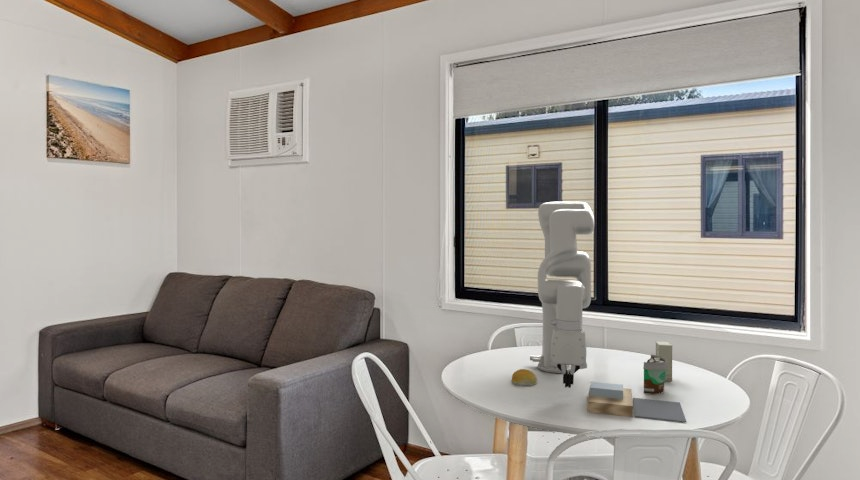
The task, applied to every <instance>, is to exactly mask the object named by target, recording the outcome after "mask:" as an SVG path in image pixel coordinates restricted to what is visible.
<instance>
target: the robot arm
mask: <svg viewBox="0 0 860 480" xmlns="http://www.w3.org/2000/svg"><path fill="white" fill-rule="evenodd" d="M537 211H538V212H537V213H538V214H537V217H538V221H539V222H538V223H539V225H540V228H541V230H542V234H543V237H544V259H542V261H541V263H540V264H539V267H538V270H537V294H538V299H539V301H540V302H541V307H542V309H541V310H542V352H541V354H538V355H534V354H531V355H529V361H532V362H534V363H536V362H537V363H538V364H537V368H538V369H539V370H541V371H542V372H543V371H544V372H546V373H551V374H552V373H554V374H562V385H563V384H564V388H569V389H571V388H572V385H574V381H575V379H574V375H575V373H576V372H578V371H579V370H584V369H587V368H588V363H587V339H586V333H585V332H586V331H585V330H584V329H583V309H587V308H589V306H590V304H591V302H592V301H591V300H592V269H591V268H592V267H591V266H592V265H591V259H590V256H589V254H588V253H587V252H584V251H579V250H578V242H577V235H581V236H582V235H585V236H586V235H588V236H589V235H591V234H592V233H593V231H594V229H595V216H594V213H593V211H592V208H591V207H590V205H589V204H588V203H587V202H584V201H549V202H543V203H542V204H540V205H539V207H538V210H537ZM547 276H548V277H552V278H565V279H548V278H547ZM566 278H568V280H567V279H566ZM569 278H573V279H576V280H571V279H570V280H569Z"/></svg>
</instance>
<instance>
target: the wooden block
mask: <svg viewBox="0 0 860 480" xmlns="http://www.w3.org/2000/svg"><path fill="white" fill-rule="evenodd" d="M590 387H591V384H590V385H589V389H588V396H587V397H588V398H587V408H586V409H587V412H588V413H595V414H603V415H613V416H622V417H629V418H631V417H632V418H633V416H634V415H633V414H634V405H633V393H632V388H625V387H623V399H614V398H604V397H595V396H590Z"/></svg>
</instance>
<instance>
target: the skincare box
mask: <svg viewBox="0 0 860 480" xmlns="http://www.w3.org/2000/svg"><path fill="white" fill-rule="evenodd" d="M655 355H657V356H661V357H664V358H665V359H666V360H667V363H668V368H666V373H665V382H672V381H673V344H672V343H670V341H658V340H656V341H655Z"/></svg>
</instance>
